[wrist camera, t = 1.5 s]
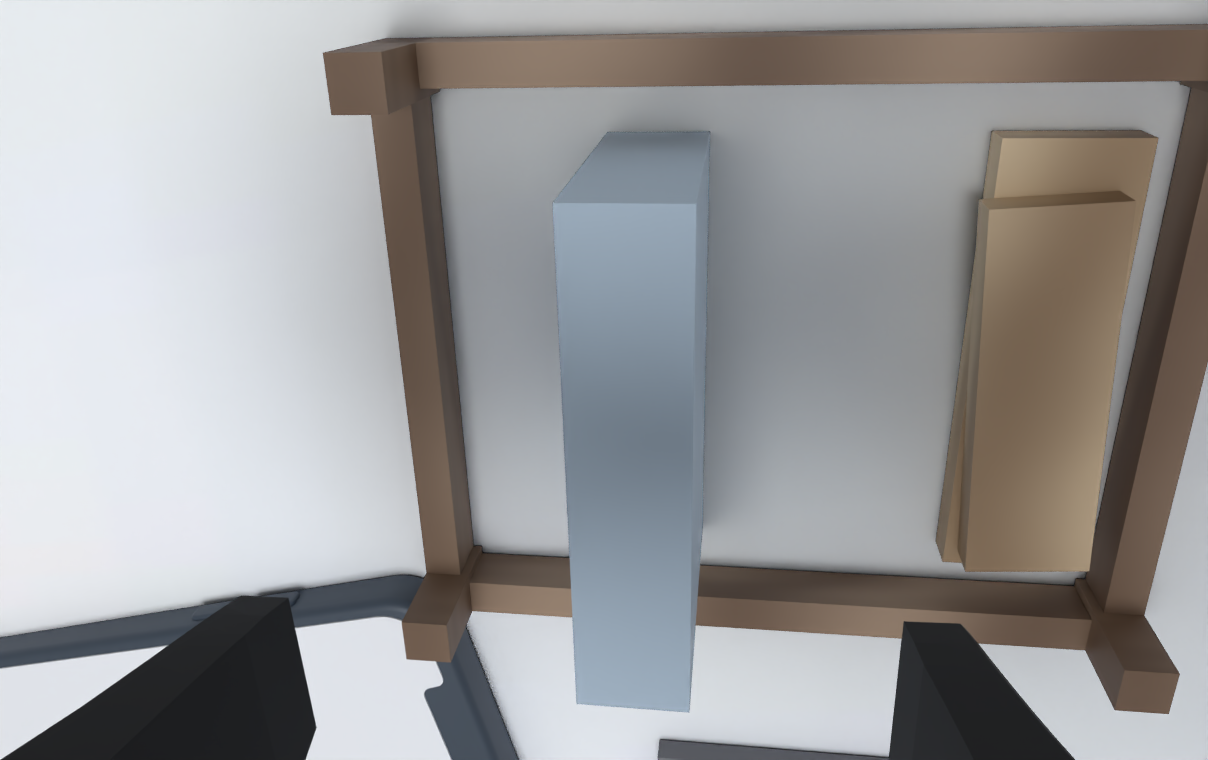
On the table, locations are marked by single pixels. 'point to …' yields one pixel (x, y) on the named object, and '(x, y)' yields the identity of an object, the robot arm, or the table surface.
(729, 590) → the frame
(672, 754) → the mat
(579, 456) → the panel
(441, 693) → the phone case
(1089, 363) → the offcut stack
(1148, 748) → the table surface
